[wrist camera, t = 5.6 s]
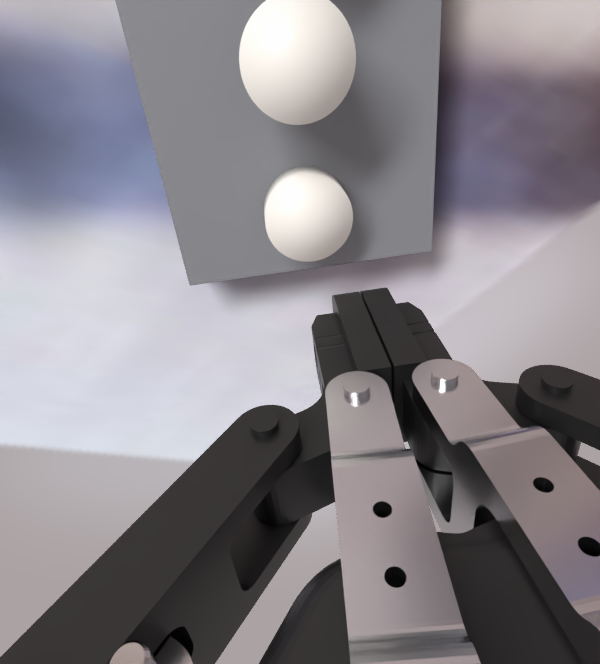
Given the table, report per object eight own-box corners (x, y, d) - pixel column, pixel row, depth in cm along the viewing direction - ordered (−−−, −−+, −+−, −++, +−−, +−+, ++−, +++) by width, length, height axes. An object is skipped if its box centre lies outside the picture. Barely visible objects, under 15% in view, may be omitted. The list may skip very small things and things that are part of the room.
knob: (256, 159, 27) (258, 182, 22) (334, 149, 27) (350, 169, 22) (268, 234, 29) (271, 267, 25) (339, 224, 29) (355, 255, 25)
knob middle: (232, 6, 21) (228, -3, 17) (332, -7, 21) (353, -19, 17) (249, 115, 23) (249, 132, 19) (338, 103, 23) (358, 116, 19)
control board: (71, -232, 18) (43, -275, 16) (426, -273, 19) (454, -321, 16) (194, 264, 30) (189, 285, 27) (416, 233, 30) (431, 251, 27)
